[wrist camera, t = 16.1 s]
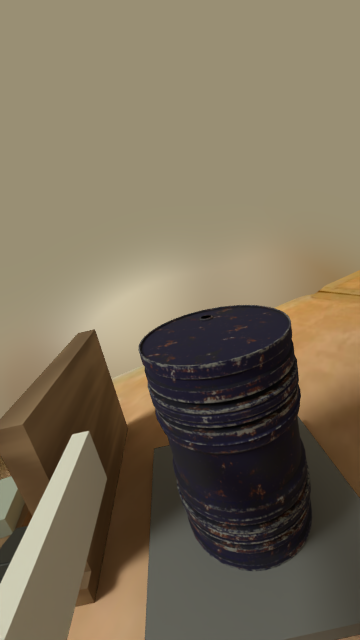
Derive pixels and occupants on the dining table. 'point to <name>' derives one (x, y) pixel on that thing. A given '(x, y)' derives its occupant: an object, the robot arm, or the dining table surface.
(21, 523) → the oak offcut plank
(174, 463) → the dark blue cylinder
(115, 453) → the wooden bookend pair
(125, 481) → the dining table surface
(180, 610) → the charcoal mat
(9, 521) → the grey offcut plank
